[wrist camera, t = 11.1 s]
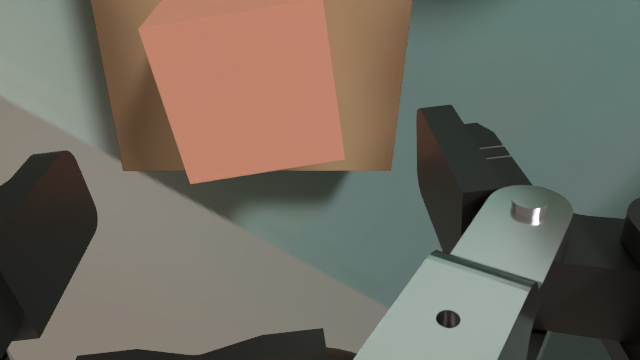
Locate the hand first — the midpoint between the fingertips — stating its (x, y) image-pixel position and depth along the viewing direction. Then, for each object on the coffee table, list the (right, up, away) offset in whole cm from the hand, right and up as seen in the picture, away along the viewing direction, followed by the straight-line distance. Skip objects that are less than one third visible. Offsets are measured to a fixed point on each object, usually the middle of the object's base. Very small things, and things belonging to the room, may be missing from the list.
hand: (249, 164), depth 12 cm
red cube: (-1, +5, +8) cm, 10 cm away
